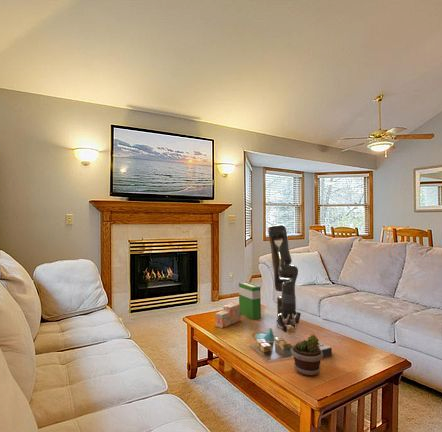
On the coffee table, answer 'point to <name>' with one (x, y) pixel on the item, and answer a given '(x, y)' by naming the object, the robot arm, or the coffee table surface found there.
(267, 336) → the diorama
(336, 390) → the coffee table surface
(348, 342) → the coffee table surface
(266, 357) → the letter board
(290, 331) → the tan cross-marked cube
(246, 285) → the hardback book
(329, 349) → the calculator
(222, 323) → the stack of blocks
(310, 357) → the flowerpot
